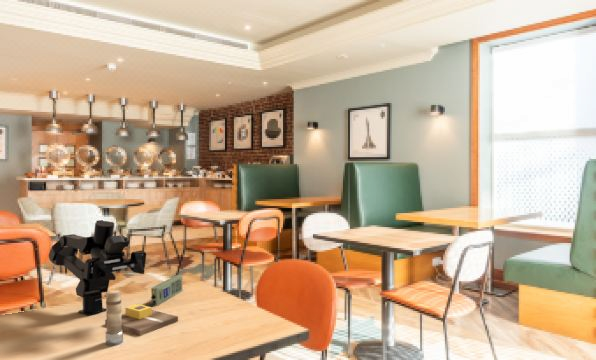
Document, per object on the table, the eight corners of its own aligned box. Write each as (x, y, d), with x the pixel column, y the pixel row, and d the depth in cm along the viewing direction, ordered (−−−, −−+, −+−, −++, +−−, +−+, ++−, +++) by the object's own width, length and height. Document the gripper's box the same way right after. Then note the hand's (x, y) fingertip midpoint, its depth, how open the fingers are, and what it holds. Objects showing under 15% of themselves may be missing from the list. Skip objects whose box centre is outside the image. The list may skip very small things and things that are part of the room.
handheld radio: (184, 291, 171) (150, 311, 146) (176, 291, 171) (141, 311, 147) (183, 274, 170) (149, 292, 146) (175, 274, 171) (140, 292, 147)
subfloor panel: (105, 324, 133) (105, 319, 133) (143, 311, 145) (143, 307, 145) (140, 335, 124) (140, 330, 124) (177, 321, 136) (177, 316, 136)
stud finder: (125, 315, 137) (125, 307, 137) (137, 311, 141) (137, 303, 141) (139, 319, 133) (139, 310, 133) (151, 315, 137) (151, 306, 137)
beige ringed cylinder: (102, 343, 119) (101, 293, 118) (116, 338, 122) (115, 289, 122) (112, 347, 116) (111, 295, 116) (126, 341, 120) (125, 291, 120)
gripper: (78, 236, 130) (101, 255, 120) (135, 229, 144) (160, 245, 135) (74, 270, 132) (97, 291, 122) (131, 260, 146) (156, 278, 137)
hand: (129, 275), depth 129 cm, fingers open, 9 cm apart
